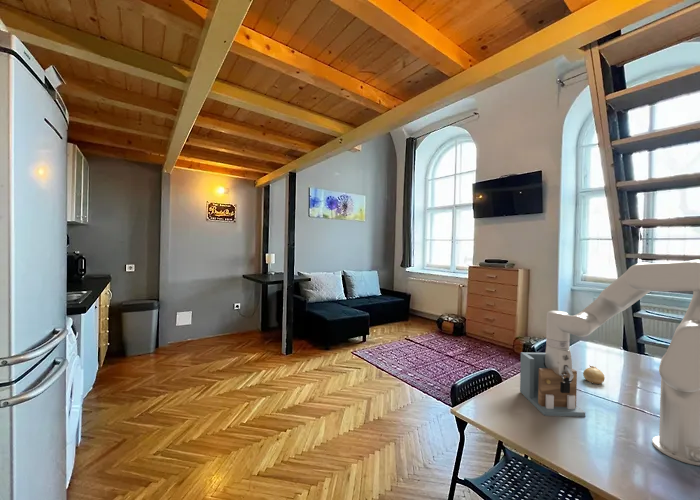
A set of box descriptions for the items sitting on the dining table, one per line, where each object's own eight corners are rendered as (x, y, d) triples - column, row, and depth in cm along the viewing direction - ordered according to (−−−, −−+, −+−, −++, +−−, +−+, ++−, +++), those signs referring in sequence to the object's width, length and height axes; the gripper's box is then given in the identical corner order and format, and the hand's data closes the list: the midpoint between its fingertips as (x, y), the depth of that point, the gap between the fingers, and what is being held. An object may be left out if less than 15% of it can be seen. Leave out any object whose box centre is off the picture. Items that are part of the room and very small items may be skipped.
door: (577, 408, 119) (578, 372, 118) (543, 407, 119) (543, 371, 119) (571, 403, 122) (572, 368, 122) (538, 403, 123) (538, 368, 122)
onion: (608, 383, 143) (608, 368, 143) (598, 387, 139) (599, 371, 139) (588, 377, 150) (589, 362, 150) (579, 380, 147) (579, 365, 147)
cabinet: (585, 416, 116) (586, 370, 115) (544, 415, 117) (545, 369, 116) (555, 393, 134) (556, 352, 133) (520, 392, 135) (520, 352, 134)
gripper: (583, 351, 112) (582, 397, 112) (553, 336, 129) (553, 377, 129) (562, 350, 112) (561, 397, 113) (535, 336, 129) (534, 376, 130)
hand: (556, 386), depth 121 cm, fingers open, 9 cm apart
